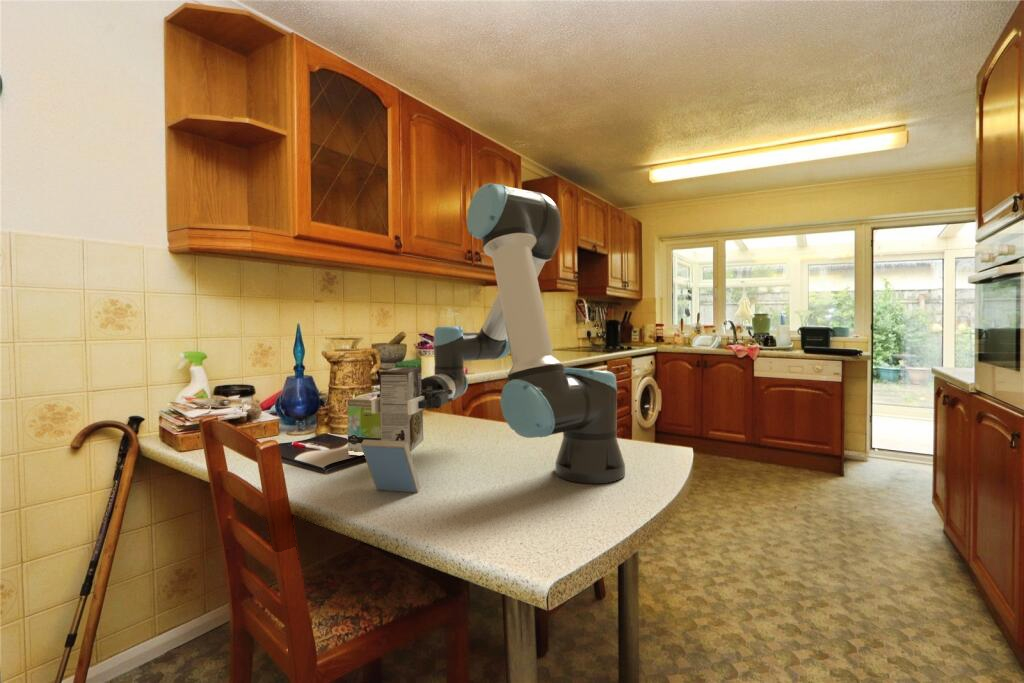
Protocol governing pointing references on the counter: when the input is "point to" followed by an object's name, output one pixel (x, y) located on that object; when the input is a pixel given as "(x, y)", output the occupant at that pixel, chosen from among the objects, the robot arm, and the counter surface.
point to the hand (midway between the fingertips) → (391, 407)
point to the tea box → (362, 421)
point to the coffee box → (400, 405)
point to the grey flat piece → (391, 465)
